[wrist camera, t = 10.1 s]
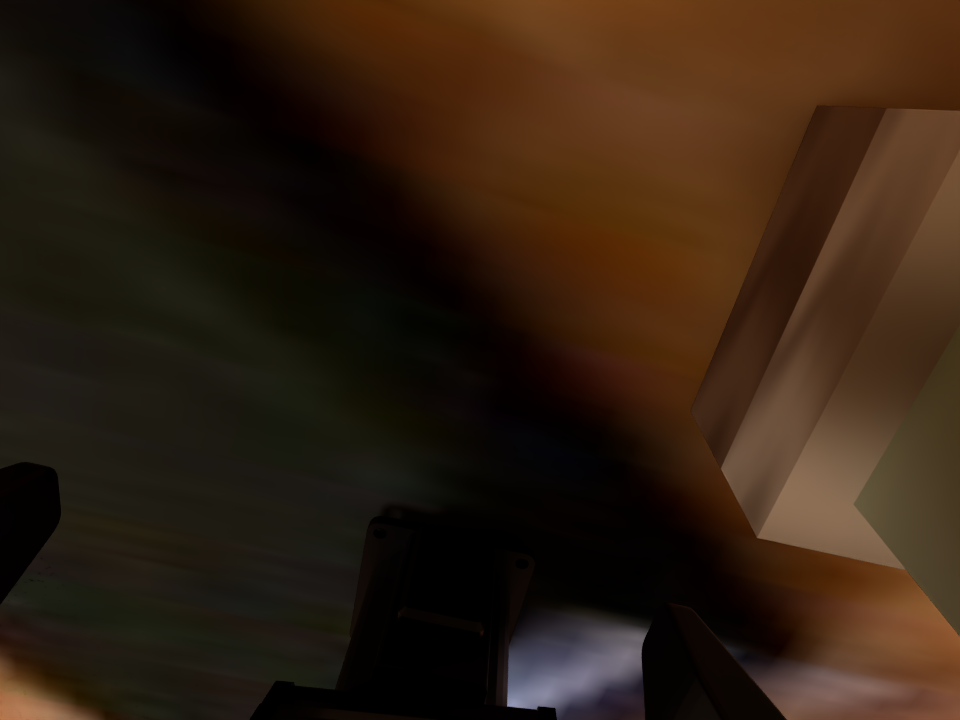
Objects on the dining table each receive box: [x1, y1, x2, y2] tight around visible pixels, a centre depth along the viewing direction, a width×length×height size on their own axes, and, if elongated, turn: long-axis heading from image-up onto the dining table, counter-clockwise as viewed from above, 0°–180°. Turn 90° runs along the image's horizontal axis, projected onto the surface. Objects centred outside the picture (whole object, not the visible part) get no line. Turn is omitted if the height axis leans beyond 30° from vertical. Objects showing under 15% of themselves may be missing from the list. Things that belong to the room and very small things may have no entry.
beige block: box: [691, 106, 960, 570], centre depth 16 cm, size 10×8×6 cm
